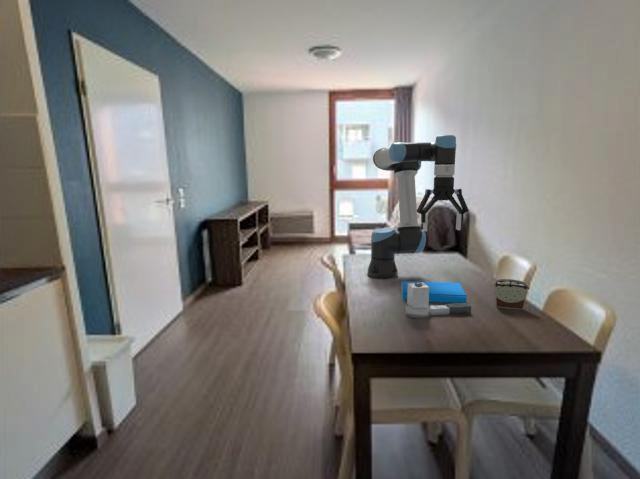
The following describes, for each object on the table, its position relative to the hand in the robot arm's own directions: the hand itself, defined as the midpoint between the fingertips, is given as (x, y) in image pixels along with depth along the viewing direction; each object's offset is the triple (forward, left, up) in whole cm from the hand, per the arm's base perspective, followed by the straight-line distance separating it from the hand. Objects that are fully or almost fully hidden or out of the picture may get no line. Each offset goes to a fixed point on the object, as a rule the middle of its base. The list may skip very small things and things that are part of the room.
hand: (441, 230), depth 153 cm
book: (-4, -1, -29) cm, 30 cm away
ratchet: (+15, -6, -29) cm, 33 cm away
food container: (+11, +24, -29) cm, 39 cm away
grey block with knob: (+15, -14, -26) cm, 33 cm away
